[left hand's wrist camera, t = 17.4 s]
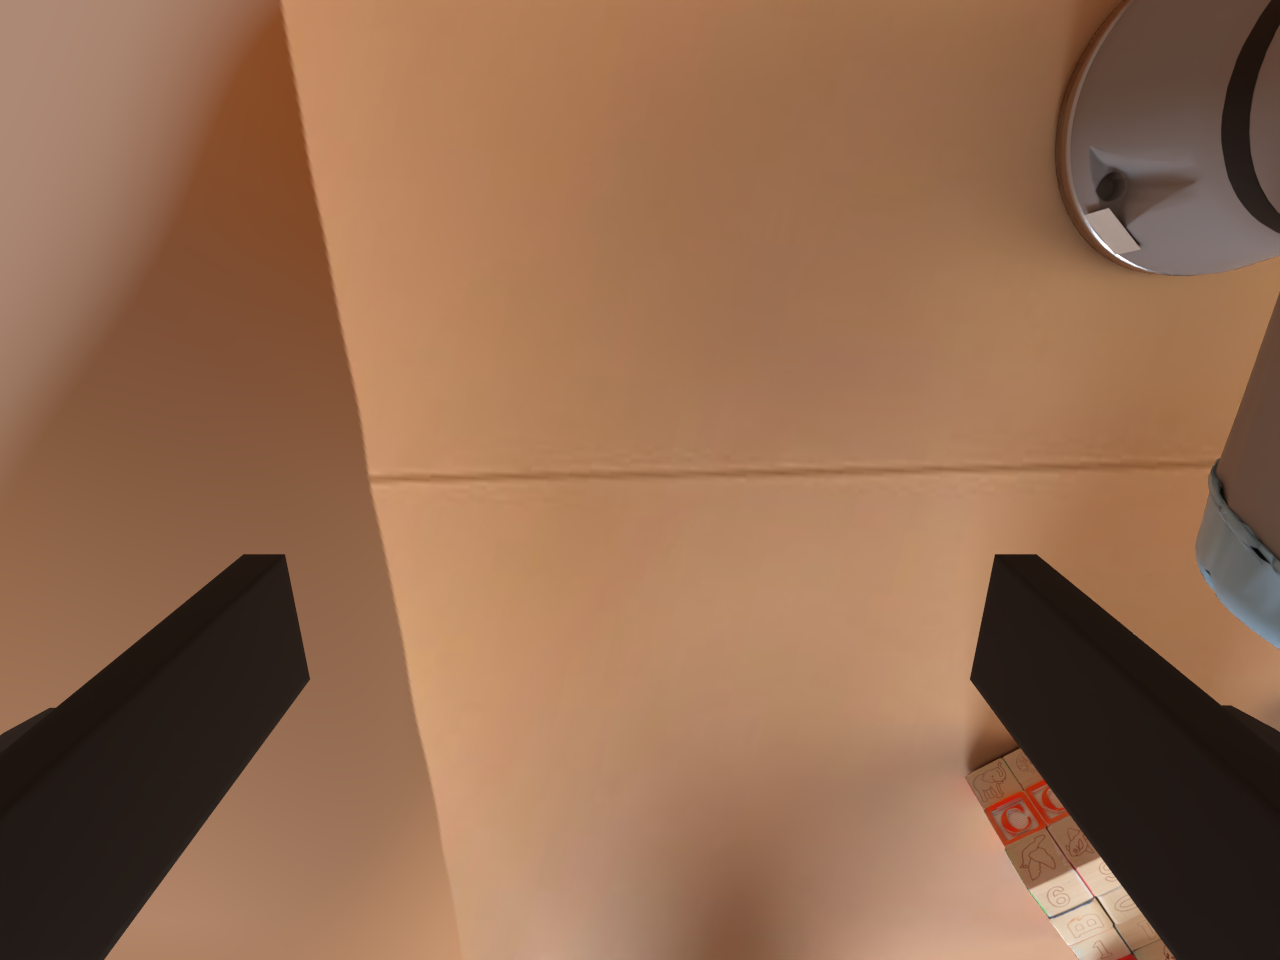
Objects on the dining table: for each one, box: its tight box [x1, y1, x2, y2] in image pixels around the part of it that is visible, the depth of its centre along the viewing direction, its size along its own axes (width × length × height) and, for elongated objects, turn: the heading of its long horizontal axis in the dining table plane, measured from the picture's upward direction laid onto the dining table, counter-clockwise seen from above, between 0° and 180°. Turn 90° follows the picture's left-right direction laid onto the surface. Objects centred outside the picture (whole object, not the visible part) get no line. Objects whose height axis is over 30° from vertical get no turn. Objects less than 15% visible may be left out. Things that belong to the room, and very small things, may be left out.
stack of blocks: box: [965, 748, 1176, 960], centre depth 47 cm, size 21×6×12 cm, turn 36°
